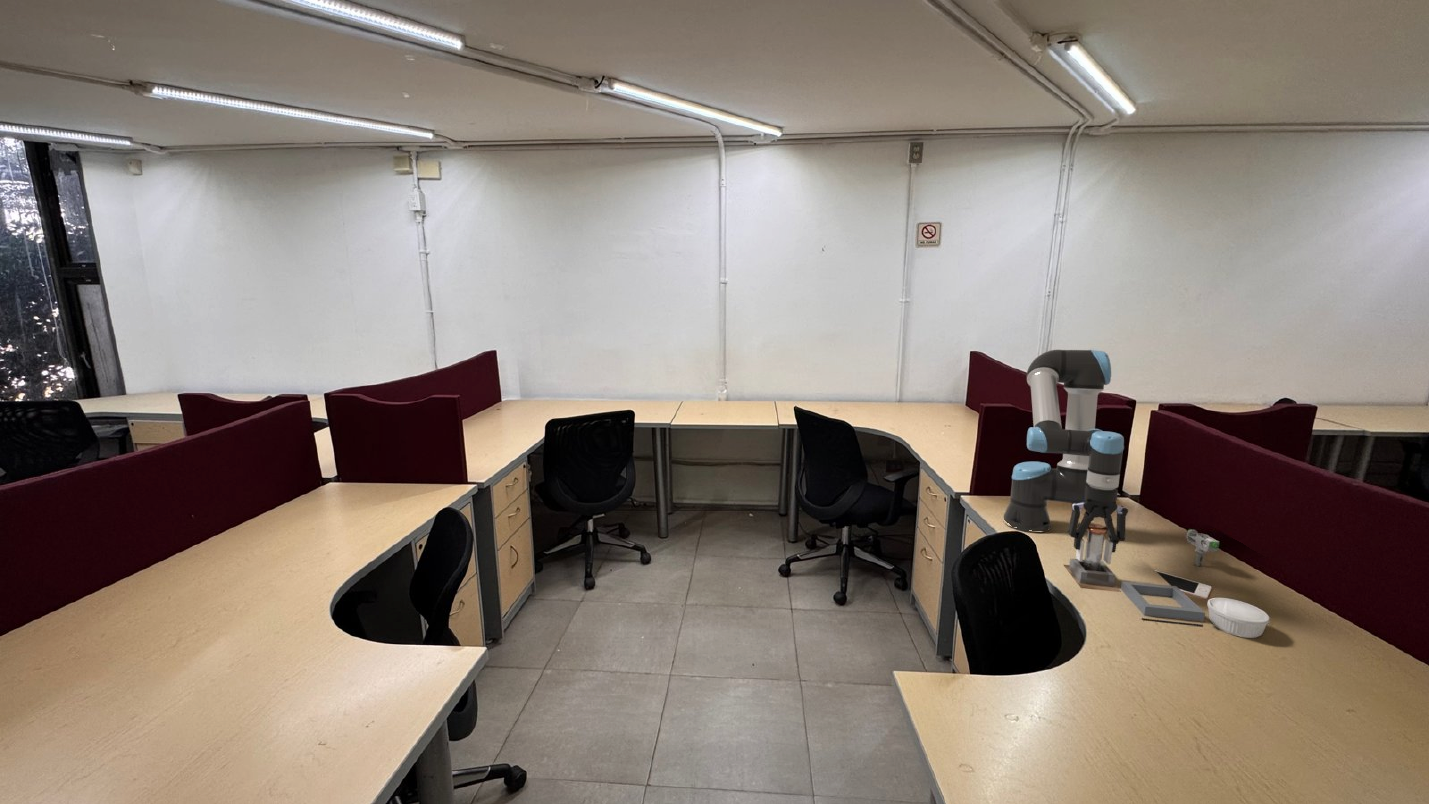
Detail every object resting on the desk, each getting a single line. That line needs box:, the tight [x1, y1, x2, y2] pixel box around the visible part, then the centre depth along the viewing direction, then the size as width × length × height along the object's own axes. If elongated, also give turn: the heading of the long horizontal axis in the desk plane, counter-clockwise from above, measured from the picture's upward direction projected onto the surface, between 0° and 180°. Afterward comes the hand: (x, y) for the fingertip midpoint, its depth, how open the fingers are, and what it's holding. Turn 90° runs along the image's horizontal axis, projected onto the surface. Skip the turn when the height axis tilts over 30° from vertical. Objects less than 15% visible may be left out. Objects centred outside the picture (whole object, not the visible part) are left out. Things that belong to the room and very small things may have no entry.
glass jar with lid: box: [1083, 522, 1108, 571], centre depth 158 cm, size 5×5×16 cm
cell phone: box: [1154, 570, 1212, 600], centre depth 159 cm, size 9×18×1 cm, turn 41°
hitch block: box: [1063, 558, 1122, 593], centre depth 159 cm, size 14×10×5 cm
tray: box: [1120, 581, 1206, 628], centre depth 145 cm, size 13×13×4 cm
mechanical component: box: [1186, 528, 1220, 567], centre depth 167 cm, size 3×10×10 cm, turn 174°
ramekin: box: [1206, 597, 1270, 639], centre depth 137 cm, size 11×11×5 cm
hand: (1092, 560), depth 158 cm, fingers open, 6 cm apart
